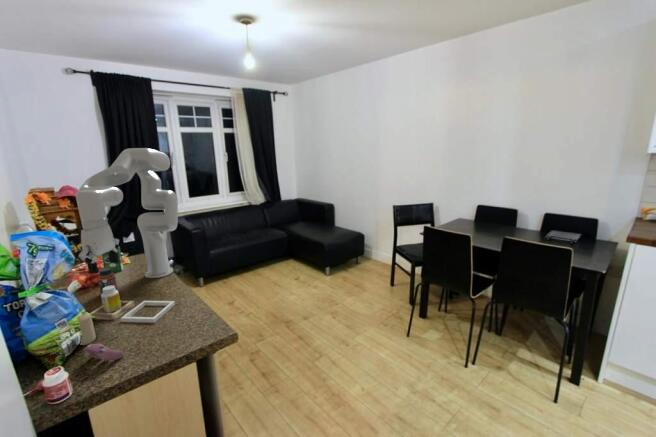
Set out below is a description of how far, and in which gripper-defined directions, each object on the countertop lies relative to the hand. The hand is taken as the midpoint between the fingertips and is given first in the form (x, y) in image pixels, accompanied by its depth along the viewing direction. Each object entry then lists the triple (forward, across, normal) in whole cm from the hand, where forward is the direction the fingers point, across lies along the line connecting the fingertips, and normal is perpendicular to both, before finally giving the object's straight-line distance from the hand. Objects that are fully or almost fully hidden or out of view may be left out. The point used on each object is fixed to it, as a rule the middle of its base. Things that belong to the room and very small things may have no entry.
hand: (104, 267), depth 115 cm
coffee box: (+19, -38, -31) cm, 53 cm away
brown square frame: (+18, +1, 0) cm, 18 cm away
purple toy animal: (+18, +27, +19) cm, 37 cm away
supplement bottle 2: (+19, 0, 0) cm, 19 cm away
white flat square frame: (+18, +1, +15) cm, 24 cm away
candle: (+18, +19, +5) cm, 27 cm away
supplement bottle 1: (+19, -14, -14) cm, 28 cm away
